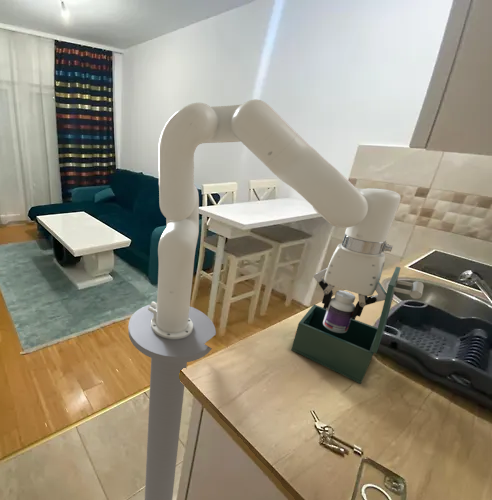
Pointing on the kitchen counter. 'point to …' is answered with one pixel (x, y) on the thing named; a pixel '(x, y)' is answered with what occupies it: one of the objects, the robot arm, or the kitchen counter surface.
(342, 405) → the kitchen counter surface
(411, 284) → the box lid
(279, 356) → the kitchen counter surface
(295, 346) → the green open box
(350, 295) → the pill bottle
